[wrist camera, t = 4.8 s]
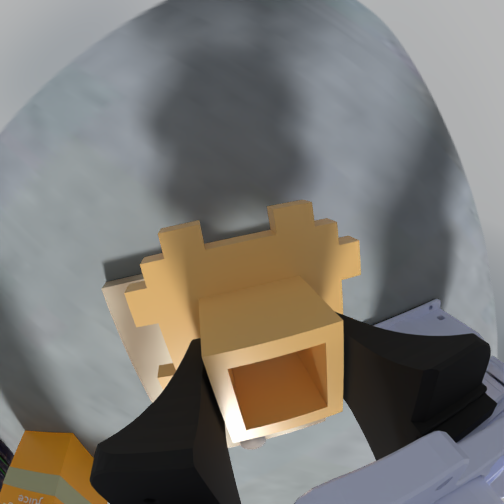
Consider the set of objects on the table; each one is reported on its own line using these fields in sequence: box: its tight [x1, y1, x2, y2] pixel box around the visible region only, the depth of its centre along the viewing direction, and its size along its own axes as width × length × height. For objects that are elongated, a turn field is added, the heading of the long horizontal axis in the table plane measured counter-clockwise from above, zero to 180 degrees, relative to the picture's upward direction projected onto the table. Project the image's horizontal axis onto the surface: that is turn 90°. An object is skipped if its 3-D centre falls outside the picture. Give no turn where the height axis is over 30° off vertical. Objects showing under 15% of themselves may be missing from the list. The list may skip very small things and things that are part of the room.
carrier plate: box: [102, 274, 325, 449], centre depth 20 cm, size 14×18×4 cm
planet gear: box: [124, 200, 361, 443], centre depth 11 cm, size 10×10×5 cm
